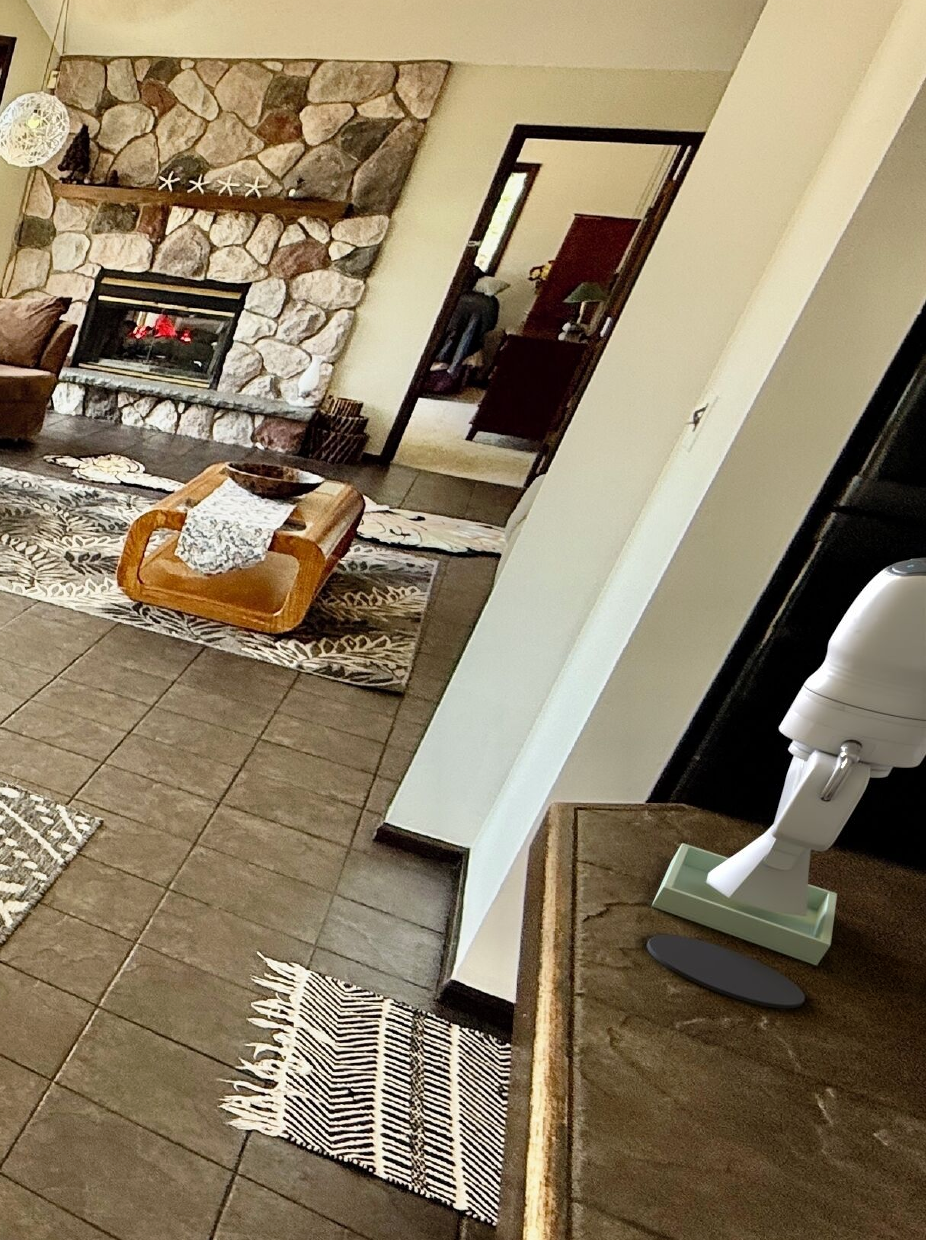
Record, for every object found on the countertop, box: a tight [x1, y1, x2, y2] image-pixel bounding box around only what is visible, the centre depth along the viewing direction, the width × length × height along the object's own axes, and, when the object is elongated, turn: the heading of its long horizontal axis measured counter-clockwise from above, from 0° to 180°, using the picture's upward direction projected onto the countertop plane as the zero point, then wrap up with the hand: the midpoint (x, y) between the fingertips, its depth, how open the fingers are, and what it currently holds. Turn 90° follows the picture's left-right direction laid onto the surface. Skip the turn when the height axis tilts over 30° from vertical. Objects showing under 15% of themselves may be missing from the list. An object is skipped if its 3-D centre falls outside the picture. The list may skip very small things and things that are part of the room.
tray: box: [651, 843, 838, 966], centre depth 112 cm, size 15×11×2 cm
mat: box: [646, 934, 806, 1010], centre depth 102 cm, size 10×10×1 cm
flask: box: [706, 823, 812, 917], centre depth 109 cm, size 7×7×10 cm
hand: (777, 859), depth 110 cm, fingers closed on flask, 3 cm apart
